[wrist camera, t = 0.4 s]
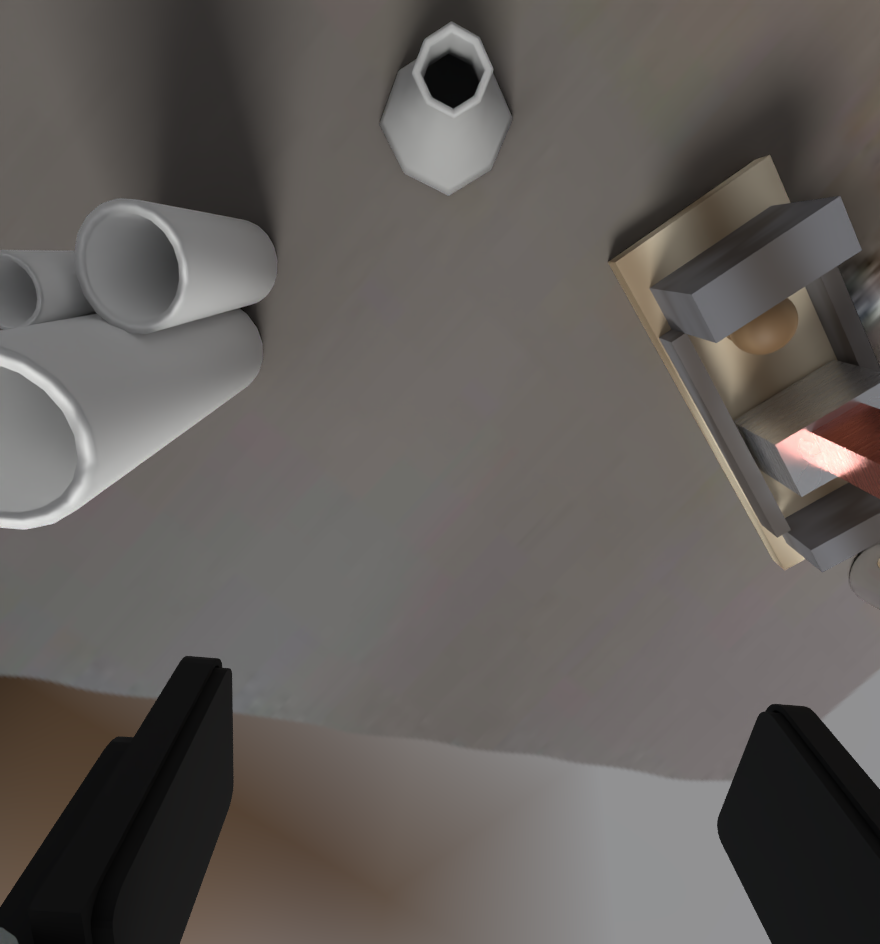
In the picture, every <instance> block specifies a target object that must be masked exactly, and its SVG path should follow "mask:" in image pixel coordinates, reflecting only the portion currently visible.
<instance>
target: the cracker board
mask: <svg viewBox="0 0 880 944" xmlns="http://www.w3.org/2000/svg"><path fill="white" fill-rule="evenodd" d="M861 250H862V249H861V247H860V244H859V242H858V239H857V237H856V234H855V232H854V229H853V227H852V224H851V222H850V219H849V217H848V214H847V212H846V209H845V206H844V204H843V201H842V199H841V196H836V197H829V198H822V199H815V200H808V201H801V202H794V203H790V200H789V198H788V196H787V193H786V191H785V189H784V186H783V184H782V182H781V179H780V177H779V175H778V172H777V170H776V168H775V165H774V163H773V161H772V158H771V156H770V155H768V156H765V157H761V158H758V159H755V160H754V161H752V162H751V163H749V164H748V165H747V166H745V167H744V168H742V169H741V170H739V171H738V172H737V173H735V174H734V175H732V176H731V177H729V178H728V179H727V180H725V181H724V182H722V183H721V184H719V185H718V186H716V187H715V188H714V189H712V190H711V191H709V192H708V193H706V194H705V195H704V196H702V197H701V198H699V199H698V200H696V201H695V202H694V203H692V204H691V205H689V206H688V207H686V208H685V209H683V210H682V211H681V212H679V213H678V214H676V215H675V216H673V217H672V218H671V219H669V220H668V221H666V222H665V223H663V224H662V225H661V226H659V227H658V228H656V229H655V230H653V231H652V232H650V233H649V234H648V235H646V236H645V237H643V238H642V239H640V240H639V241H638V242H636V243H635V244H633V245H632V246H630V247H629V248H628V249H626V250H625V251H623V252H622V253H620V254H619V255H617V256H616V257H615V258H613V259H612V260H610V261H609V262H608V263H609V265H610V267H611V268H612V270H613V272H614V274H615V276H616V277H617V279H618V281H619V283H620V285H621V286H622V288H623V290H624V292H625V294H626V295H627V297H628V299H629V301H630V303H631V305H632V306H633V308H634V310H635V312H636V314H637V315H638V317H639V319H640V321H641V323H642V324H643V326H644V328H645V330H646V332H647V333H648V335H649V337H650V339H651V341H652V342H653V344H654V346H655V348H656V350H657V351H658V353H659V355H660V357H661V359H662V360H663V362H664V364H665V366H666V368H667V369H668V371H669V373H670V375H671V377H672V378H673V380H674V382H675V384H676V386H677V387H678V389H679V391H680V393H681V395H682V396H683V398H684V400H685V402H686V404H687V405H688V407H689V409H690V411H691V413H692V415H693V416H694V418H695V420H696V422H697V424H698V425H699V427H700V429H701V431H702V433H703V434H704V436H705V438H706V440H707V442H708V443H709V445H710V447H711V449H712V451H713V452H714V454H715V456H716V458H717V460H718V461H719V463H720V465H721V467H722V469H723V470H724V472H725V474H726V476H727V478H728V479H729V481H730V483H731V485H732V487H733V488H734V490H735V492H736V494H737V496H738V497H739V499H740V501H741V503H742V505H743V506H744V508H745V510H746V512H747V514H748V515H749V517H750V519H751V521H752V523H753V524H754V526H755V528H756V530H757V532H758V534H759V535H760V537H761V539H762V541H763V543H764V544H765V546H766V548H767V550H768V552H769V553H770V555H771V557H772V559H773V560H774V561H775V562H776V563H777V564H778V565H779V566H780V567H782V568H783V569H784V570H786V569H788V568H790V567H792V566H794V565H795V564H797V563H799V562H801V561H803V560H805V559H806V560H808V561H809V562H810V563H811V564H813V565H814V566H815V567H816V568H818V569H819V570H820V571H821V572H824V571H826V570H828V569H830V568H831V567H833V566H835V565H837V564H839V563H841V562H843V561H844V560H846V559H848V558H850V557H852V556H854V555H856V554H858V553H859V552H861V551H863V550H865V549H867V548H869V547H871V546H872V545H874V544H876V543H878V542H880V499H879V498H877V497H875V496H873V495H871V494H869V493H868V492H866V491H864V490H862V489H860V488H858V487H856V486H855V485H853V484H851V483H849V482H847V481H845V480H844V479H842V478H840V477H836V478H834V479H833V480H831V481H829V482H827V483H826V484H824V485H822V486H820V487H818V488H817V489H815V490H813V491H811V492H810V493H808V494H806V495H804V496H803V497H801V496H800V495H798V494H796V493H795V492H793V491H792V490H790V489H789V488H787V487H786V486H784V485H783V484H781V483H780V482H778V481H776V480H775V479H773V478H772V477H770V476H769V475H767V474H766V473H764V472H763V471H761V470H760V469H758V467H757V465H756V463H755V461H754V459H753V457H752V455H751V453H750V452H749V450H748V448H747V446H746V444H745V442H744V440H743V438H742V437H741V435H740V433H739V431H738V429H737V427H736V425H735V423H734V421H733V420H735V419H737V418H738V417H740V416H742V415H743V414H745V413H747V412H748V411H750V410H751V409H753V408H755V407H756V406H758V405H760V404H761V403H763V402H765V401H766V400H768V399H770V398H771V397H773V396H774V395H776V394H778V393H779V392H781V391H783V390H784V389H786V388H788V387H789V386H791V385H793V384H794V383H796V382H798V381H799V380H801V379H802V378H804V377H806V376H807V375H809V374H811V373H812V372H814V371H816V370H817V369H819V368H821V367H822V366H824V365H825V364H827V363H829V362H830V361H832V360H836V361H840V362H844V363H848V364H852V365H856V366H860V367H863V368H867V369H871V370H875V371H879V372H880V367H879V364H878V362H877V359H876V357H875V355H874V352H873V350H872V347H871V345H870V343H869V340H868V338H867V335H866V333H865V331H864V328H863V326H862V323H861V321H860V319H859V316H858V314H857V311H856V309H855V307H854V304H853V302H852V299H851V297H850V295H849V292H848V290H847V287H846V285H845V283H844V280H843V278H842V275H841V273H840V271H839V268H838V265H840V264H841V263H843V262H844V261H846V260H847V259H849V258H850V257H852V256H854V255H855V254H857V253H858V252H860V251H861ZM786 298H788V299H790V300H791V301H792V303H793V304H794V305H795V307H796V309H797V312H798V327H797V330H796V332H795V334H794V336H793V337H792V339H791V340H790V341H789V342H788V343H787V344H786V345H785V346H784V347H782V348H781V349H779V350H777V351H775V352H772V353H769V354H764V355H755V354H750V353H747V352H744V351H742V350H741V349H739V348H738V347H737V346H736V345H735V344H734V343H733V341H731V340H729V339H728V338H727V336H729V335H730V334H732V333H733V332H735V331H736V330H738V329H739V328H741V327H743V326H744V325H746V324H747V323H749V322H750V321H752V320H754V319H755V318H757V317H758V316H760V315H761V314H763V313H764V312H766V311H768V310H769V309H771V308H772V307H774V306H775V305H777V304H779V303H780V302H782V301H783V300H785V299H786Z"/></svg>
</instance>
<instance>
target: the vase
mask: <svg viewBox="0 0 880 944" xmlns="http://www.w3.org/2000/svg"><path fill="white" fill-rule="evenodd" d="M277 264H278V259H277V256H276V252H275V248H274V245H273V243H272V242H271V240H270V238H269V236H268V235H267V234H266V233H265V232H264V231H263V230H262V229H261V228H260V227H259V226H258V225H256V224H254V223H252V222H249V221H247V220H243V219H238V218H232V217H227V216H222V215H216V214H211V213H206V212H201V211H195V210H190V209H185V208H179V207H174V206H169V205H164V204H158V203H153V202H148V201H143V200H137V199H125V198H117V199H114V200H111V201H108V202H105V203H101V204H100V205H99V206H98V207H97V208H95V209H94V210H93V211H92V212H91V213H90V214H88V215H87V217H86V218H85V220H84V222H83V224H82V226H81V228H80V230H79V231H78V234H77V239H76V245H75V251H51V250H0V328H1V329H4V330H0V528H13V529H30V528H35V527H40V526H45V525H50V524H54V523H56V522H57V521H59V520H61V519H62V518H64V517H66V516H67V515H69V514H71V513H72V512H74V511H76V510H77V509H79V508H80V507H81V506H83V505H84V504H86V503H87V502H88V501H90V500H91V499H93V498H94V497H95V496H97V495H98V494H99V493H101V492H102V491H104V490H105V489H106V488H108V487H109V486H110V485H112V484H113V483H115V482H116V481H117V480H119V479H120V478H122V477H123V476H124V475H126V474H127V473H128V472H130V471H131V470H133V469H134V468H135V467H137V466H138V465H139V464H141V463H142V462H144V461H145V460H146V459H148V458H149V457H151V456H152V455H153V454H155V453H156V452H157V451H159V450H160V449H162V448H163V447H164V446H166V445H167V444H168V443H170V442H171V441H173V440H174V439H175V438H177V437H178V436H180V435H181V434H182V433H184V432H185V431H186V430H188V429H189V428H191V427H192V426H193V425H195V424H196V423H198V422H199V421H200V420H202V419H203V418H204V417H206V416H207V415H209V414H210V413H211V412H213V411H214V410H215V409H217V408H218V407H220V406H221V405H222V404H224V403H225V402H227V401H228V400H229V399H231V398H232V397H233V396H235V395H236V394H238V393H239V392H240V391H242V390H243V389H244V388H246V387H247V386H249V385H250V384H251V382H252V381H253V380H254V379H255V377H256V376H257V375H258V374H259V371H260V368H261V364H262V361H263V343H262V340H261V337H260V334H259V331H258V329H257V327H256V326H255V324H254V323H253V322H252V320H251V319H250V317H249V316H248V314H246V313H245V312H244V311H243V310H241V309H240V308H241V307H245V306H248V305H252V304H255V303H258V302H259V301H261V300H262V299H263V298H265V297H266V296H267V295H268V293H269V292H270V290H271V289H272V287H273V286H274V283H275V280H276V276H277Z"/></svg>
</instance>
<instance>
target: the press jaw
mask: <svg viewBox="0 0 880 944" xmlns="http://www.w3.org/2000/svg"><path fill="white" fill-rule="evenodd" d="M733 421H734V423H735V425H736V427H737V429H738V431H739V433H740V435H741V437H742V438H743V440H744V442H745V444H746V446H747V448H748V450H749V452H750V453H751V455H752V457H753V459H754V461H755V463H756V465H757V467H758V469H760V470H761V471H763V472H764V473H766V474H767V475H769V476H770V477H772V478H773V479H775V480H776V481H778V482H780V483H781V484H783V485H784V486H786V487H787V488H789V489H790V490H792V491H793V492H795V493H796V494H798V495H800V496H801V497H803V496H804V495H806V494H808V493H810V492H811V491H813V490H815V489H817V488H818V487H820V486H822V485H824V484H826V483H827V482H829V481H831V480H833V479H834V478H836V477H840V478H842V479H844V480H845V481H847V482H849V483H851V484H853V485H855V486H856V487H858V488H860V489H862V490H864V491H866V492H868V493H869V494H871V495H873V496H875V497H877V498H879V499H880V372H879V371H875V370H871V369H867V368H863V367H860V366H856V365H852V364H848V363H844V362H840V361H836V360H832V361H830V362H829V363H827V364H825V365H824V366H822V367H821V368H819V369H817V370H816V371H814V372H812V373H811V374H809V375H807V376H806V377H804V378H802V379H801V380H799V381H798V382H796V383H794V384H793V385H791V386H789V387H788V388H786V389H784V390H783V391H781V392H779V393H778V394H776V395H774V396H773V397H771V398H770V399H768V400H766V401H765V402H763V403H761V404H760V405H758V406H756V407H755V408H753V409H751V410H750V411H748V412H747V413H745V414H743V415H742V416H740V417H738V418H737V419H735V420H733Z"/></svg>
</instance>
